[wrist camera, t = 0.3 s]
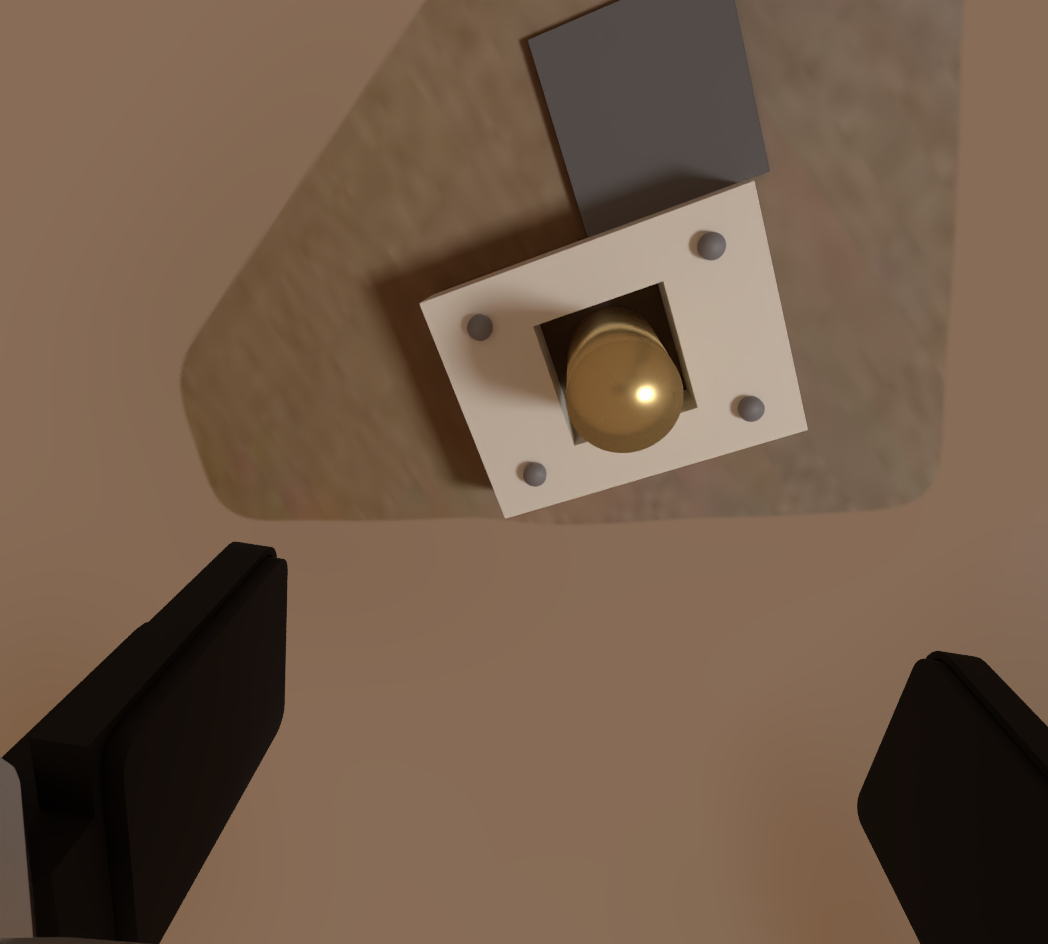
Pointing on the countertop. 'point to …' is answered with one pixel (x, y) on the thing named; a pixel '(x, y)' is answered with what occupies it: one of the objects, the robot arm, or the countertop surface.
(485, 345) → the plate
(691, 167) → the mat
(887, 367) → the countertop surface
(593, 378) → the brass domed cylinder
